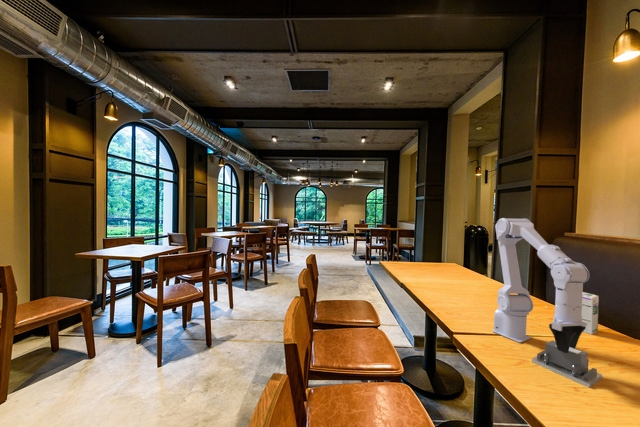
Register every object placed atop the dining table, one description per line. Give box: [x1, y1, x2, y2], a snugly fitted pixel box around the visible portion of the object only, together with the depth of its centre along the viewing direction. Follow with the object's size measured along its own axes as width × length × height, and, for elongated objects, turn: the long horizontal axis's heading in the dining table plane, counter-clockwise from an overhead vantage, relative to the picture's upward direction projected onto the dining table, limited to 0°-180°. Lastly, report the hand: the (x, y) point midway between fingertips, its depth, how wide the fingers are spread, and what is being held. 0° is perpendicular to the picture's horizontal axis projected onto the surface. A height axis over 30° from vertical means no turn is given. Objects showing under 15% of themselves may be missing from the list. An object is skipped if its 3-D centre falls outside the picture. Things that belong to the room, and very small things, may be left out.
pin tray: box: [531, 349, 603, 388], centre depth 77 cm, size 13×9×4 cm
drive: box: [544, 340, 588, 374], centre depth 77 cm, size 8×4×5 cm, turn 28°
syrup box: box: [582, 291, 600, 335], centre depth 104 cm, size 6×6×14 cm
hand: (566, 349), depth 77 cm, fingers closed on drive, 4 cm apart
